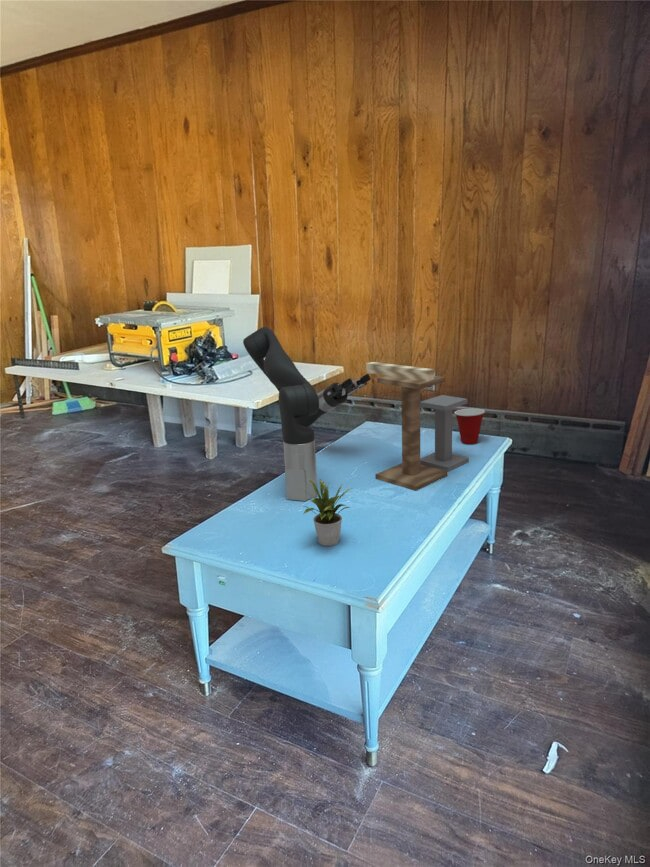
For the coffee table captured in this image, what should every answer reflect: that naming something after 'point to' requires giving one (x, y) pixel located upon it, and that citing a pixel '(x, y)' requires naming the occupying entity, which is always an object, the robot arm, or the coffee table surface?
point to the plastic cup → (469, 424)
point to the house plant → (327, 515)
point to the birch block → (400, 371)
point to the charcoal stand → (443, 433)
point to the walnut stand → (410, 437)
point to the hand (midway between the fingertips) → (360, 378)
